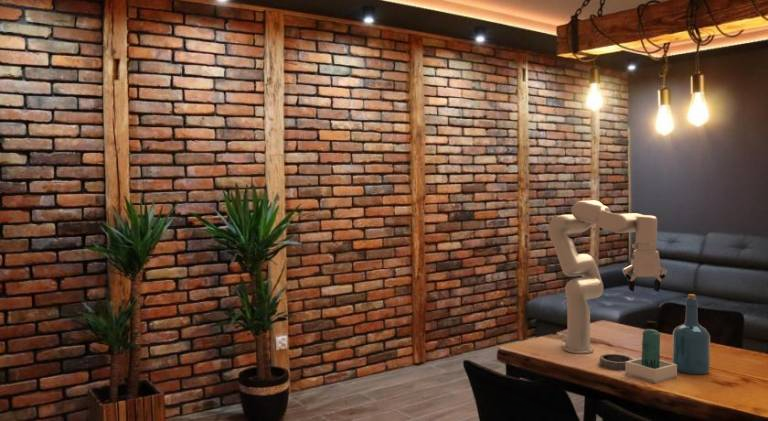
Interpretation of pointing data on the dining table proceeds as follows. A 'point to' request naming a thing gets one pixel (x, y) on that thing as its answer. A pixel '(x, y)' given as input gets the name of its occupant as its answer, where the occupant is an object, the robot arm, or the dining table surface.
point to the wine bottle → (691, 342)
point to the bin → (651, 371)
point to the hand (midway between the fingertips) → (644, 290)
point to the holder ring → (614, 361)
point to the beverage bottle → (651, 346)
